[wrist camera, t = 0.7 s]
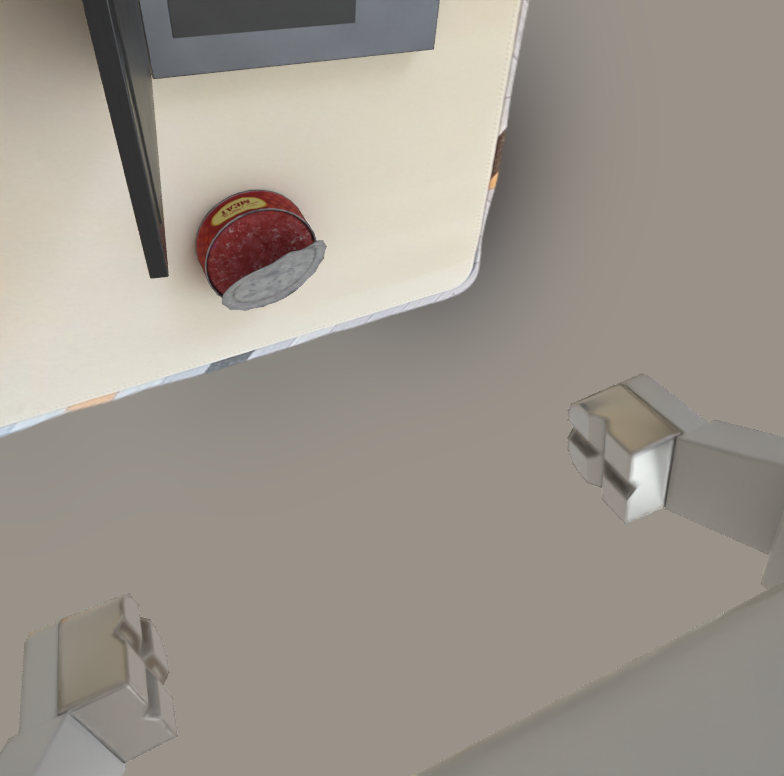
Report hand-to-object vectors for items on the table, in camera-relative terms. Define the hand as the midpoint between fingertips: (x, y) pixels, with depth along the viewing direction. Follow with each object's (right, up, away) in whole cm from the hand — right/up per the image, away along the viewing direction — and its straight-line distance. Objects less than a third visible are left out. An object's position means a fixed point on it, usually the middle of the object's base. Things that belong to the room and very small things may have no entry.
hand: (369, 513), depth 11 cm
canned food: (-12, +15, +46) cm, 50 cm away
